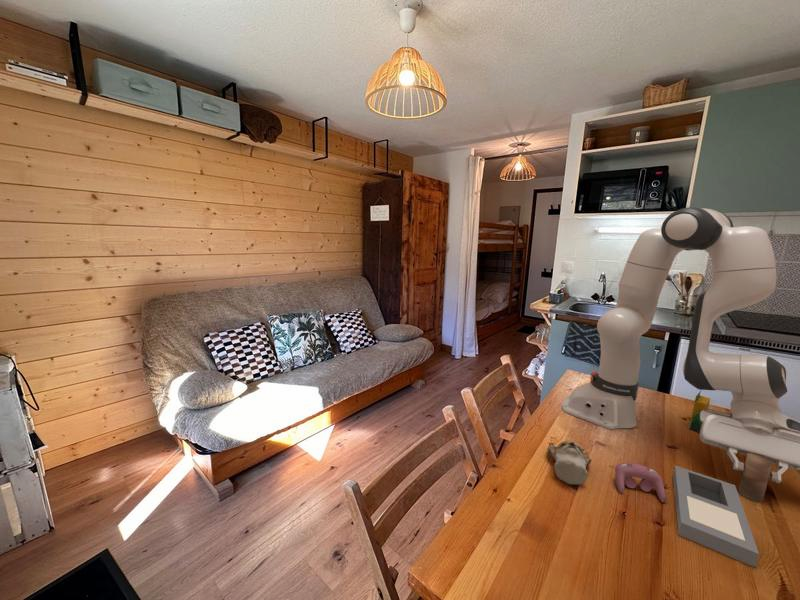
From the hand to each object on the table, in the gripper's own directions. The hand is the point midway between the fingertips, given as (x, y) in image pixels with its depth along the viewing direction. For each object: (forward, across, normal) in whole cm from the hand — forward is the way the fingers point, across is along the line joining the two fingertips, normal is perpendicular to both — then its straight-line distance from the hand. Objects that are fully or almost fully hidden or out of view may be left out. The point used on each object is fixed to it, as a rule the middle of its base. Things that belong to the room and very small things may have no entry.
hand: (756, 475), depth 77 cm
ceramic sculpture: (+17, -36, -8) cm, 41 cm away
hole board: (+14, -9, -5) cm, 17 cm away
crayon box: (-19, -7, +27) cm, 34 cm away
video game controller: (+15, -22, -6) cm, 27 cm away
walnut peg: (+4, 0, +5) cm, 6 cm away
